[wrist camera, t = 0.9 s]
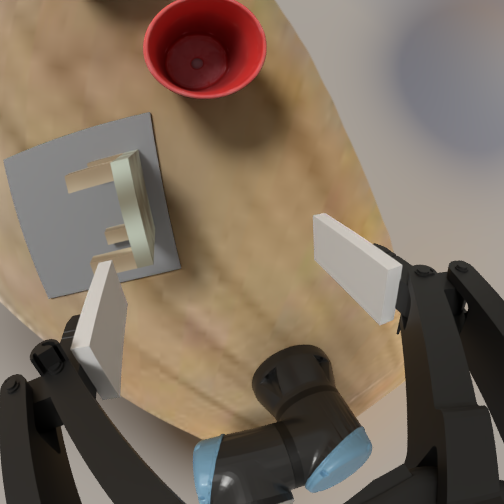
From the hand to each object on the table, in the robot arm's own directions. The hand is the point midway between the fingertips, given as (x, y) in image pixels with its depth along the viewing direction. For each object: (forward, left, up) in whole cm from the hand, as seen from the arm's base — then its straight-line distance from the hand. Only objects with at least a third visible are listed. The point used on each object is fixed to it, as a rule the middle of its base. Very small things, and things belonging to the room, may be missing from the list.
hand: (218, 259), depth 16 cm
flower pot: (+14, -3, -23) cm, 27 cm away
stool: (0, +8, -22) cm, 23 cm away
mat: (-1, +13, -22) cm, 26 cm away
